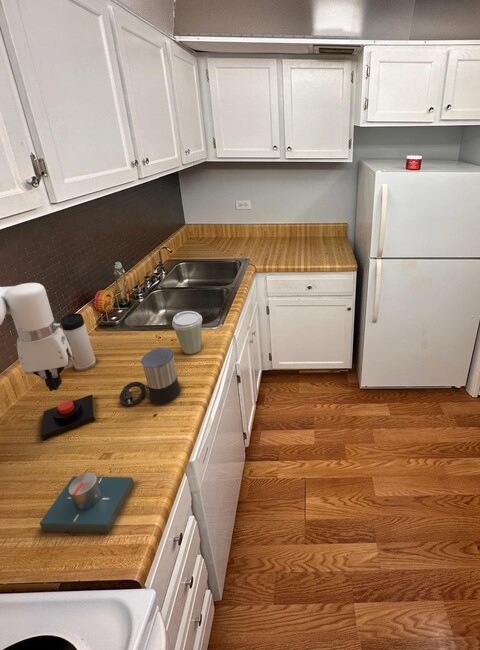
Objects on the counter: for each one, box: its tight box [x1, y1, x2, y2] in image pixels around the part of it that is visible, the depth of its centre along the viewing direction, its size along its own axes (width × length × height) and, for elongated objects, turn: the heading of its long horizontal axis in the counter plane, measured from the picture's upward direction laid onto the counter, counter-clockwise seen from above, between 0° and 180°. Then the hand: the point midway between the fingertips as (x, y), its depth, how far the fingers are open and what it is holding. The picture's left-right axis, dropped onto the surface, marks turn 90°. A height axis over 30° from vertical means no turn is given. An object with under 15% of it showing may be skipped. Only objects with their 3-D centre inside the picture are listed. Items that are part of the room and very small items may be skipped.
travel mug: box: [59, 312, 97, 372], centre depth 115 cm, size 6×7×20 cm
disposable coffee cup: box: [171, 310, 203, 355], centre depth 124 cm, size 11×11×15 cm
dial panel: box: [39, 475, 135, 534], centre depth 73 cm, size 14×10×3 cm
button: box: [57, 400, 75, 415], centre depth 95 cm, size 4×4×2 cm
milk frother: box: [119, 347, 182, 407], centre depth 102 cm, size 14×16×15 cm
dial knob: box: [69, 471, 102, 511], centre depth 72 cm, size 5×5×5 cm
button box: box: [40, 394, 96, 441], centre depth 96 cm, size 12×10×4 cm
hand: (55, 387), depth 92 cm, fingers closed
